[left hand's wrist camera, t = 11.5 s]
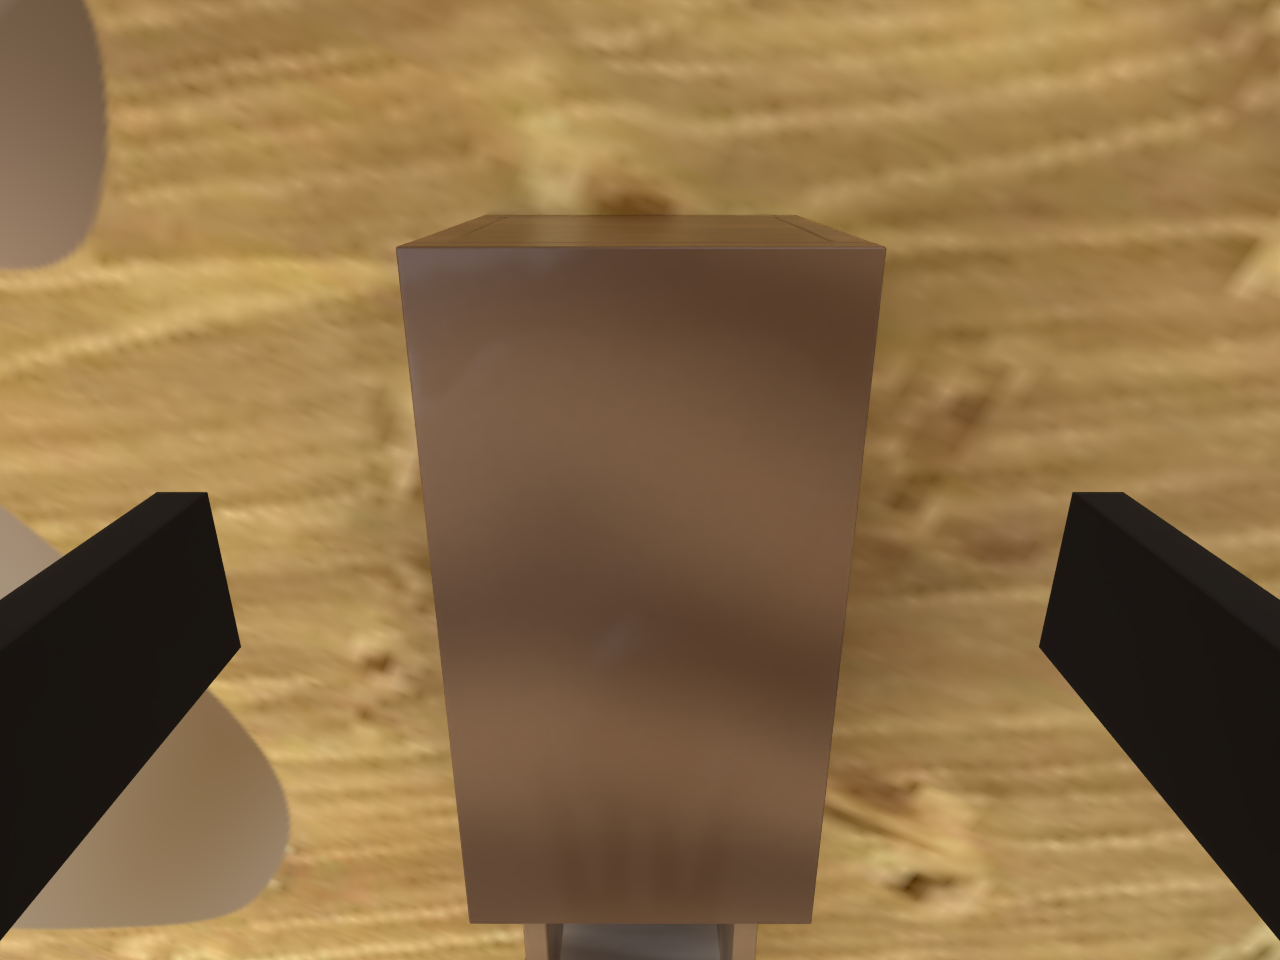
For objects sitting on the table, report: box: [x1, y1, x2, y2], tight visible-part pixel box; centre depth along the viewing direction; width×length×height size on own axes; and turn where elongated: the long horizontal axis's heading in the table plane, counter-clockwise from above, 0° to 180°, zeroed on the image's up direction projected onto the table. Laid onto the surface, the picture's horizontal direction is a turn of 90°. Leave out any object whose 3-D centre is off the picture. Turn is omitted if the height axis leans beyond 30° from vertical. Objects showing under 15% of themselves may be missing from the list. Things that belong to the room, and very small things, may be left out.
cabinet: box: [396, 215, 886, 924], centre depth 26 cm, size 21×11×11 cm, turn 0°
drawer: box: [523, 924, 758, 960], centre depth 31 cm, size 25×10×9 cm, turn 0°
